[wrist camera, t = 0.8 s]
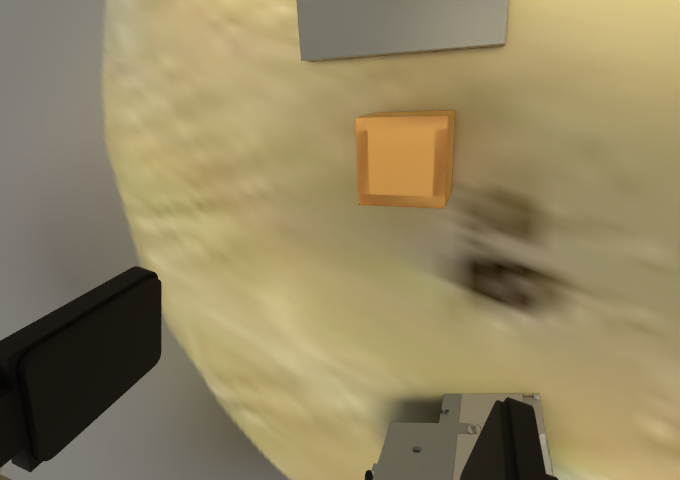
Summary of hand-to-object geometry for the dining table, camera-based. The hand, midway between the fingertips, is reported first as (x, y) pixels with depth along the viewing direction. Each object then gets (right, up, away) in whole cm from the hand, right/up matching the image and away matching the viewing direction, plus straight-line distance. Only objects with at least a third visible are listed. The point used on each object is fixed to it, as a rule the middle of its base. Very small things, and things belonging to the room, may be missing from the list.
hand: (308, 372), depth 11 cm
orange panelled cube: (+7, +10, +21) cm, 24 cm away
